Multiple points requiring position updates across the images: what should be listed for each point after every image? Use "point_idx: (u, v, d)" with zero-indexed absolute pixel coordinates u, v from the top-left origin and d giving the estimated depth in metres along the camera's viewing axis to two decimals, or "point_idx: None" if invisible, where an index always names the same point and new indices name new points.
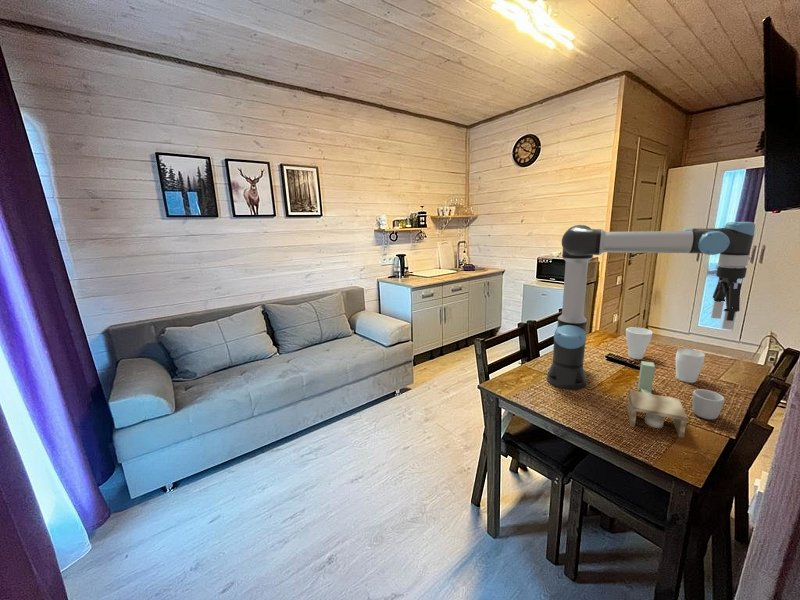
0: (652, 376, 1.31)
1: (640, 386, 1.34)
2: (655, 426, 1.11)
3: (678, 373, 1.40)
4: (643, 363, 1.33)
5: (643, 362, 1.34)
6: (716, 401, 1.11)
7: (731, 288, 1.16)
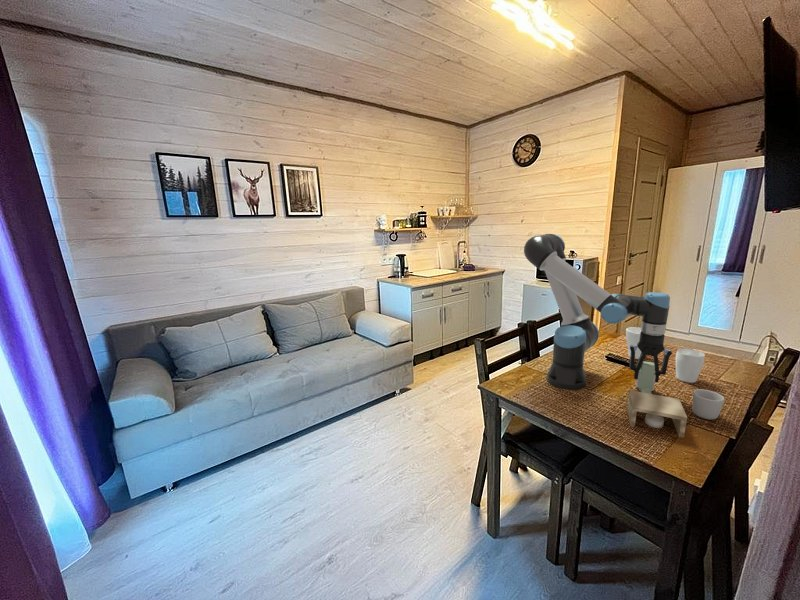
0: (652, 376, 1.31)
1: (640, 386, 1.34)
2: (655, 426, 1.11)
3: (678, 373, 1.40)
4: (643, 363, 1.33)
5: (643, 362, 1.34)
6: (716, 401, 1.11)
7: None
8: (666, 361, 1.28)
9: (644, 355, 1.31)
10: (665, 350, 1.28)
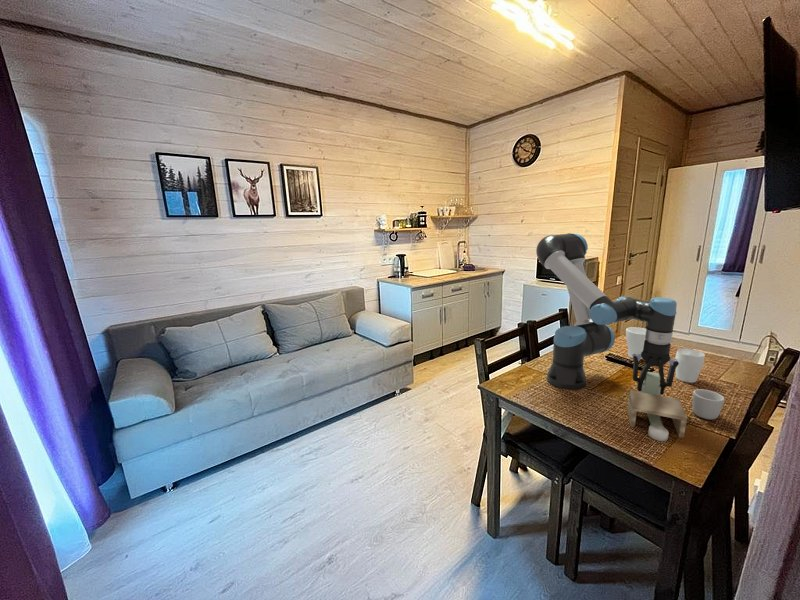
0: (657, 388, 1.21)
1: None
2: (659, 439, 1.05)
3: (678, 373, 1.40)
4: (647, 374, 1.23)
5: (647, 373, 1.24)
6: (716, 401, 1.11)
7: None
8: (672, 372, 1.18)
9: (648, 365, 1.21)
10: (671, 360, 1.18)
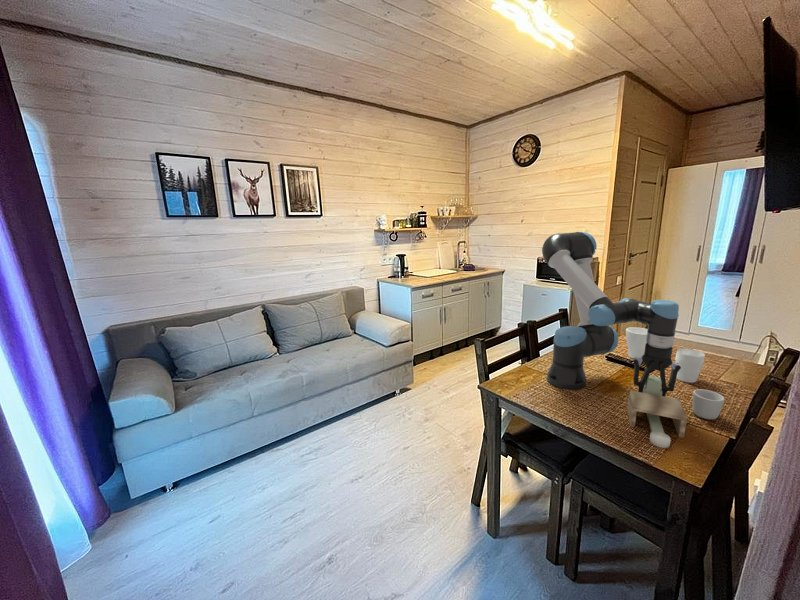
0: (658, 393, 1.18)
1: None
2: (661, 446, 1.02)
3: (678, 373, 1.40)
4: (648, 378, 1.20)
5: (648, 377, 1.21)
6: (716, 401, 1.11)
7: None
8: (674, 376, 1.16)
9: (649, 369, 1.18)
10: (673, 364, 1.15)
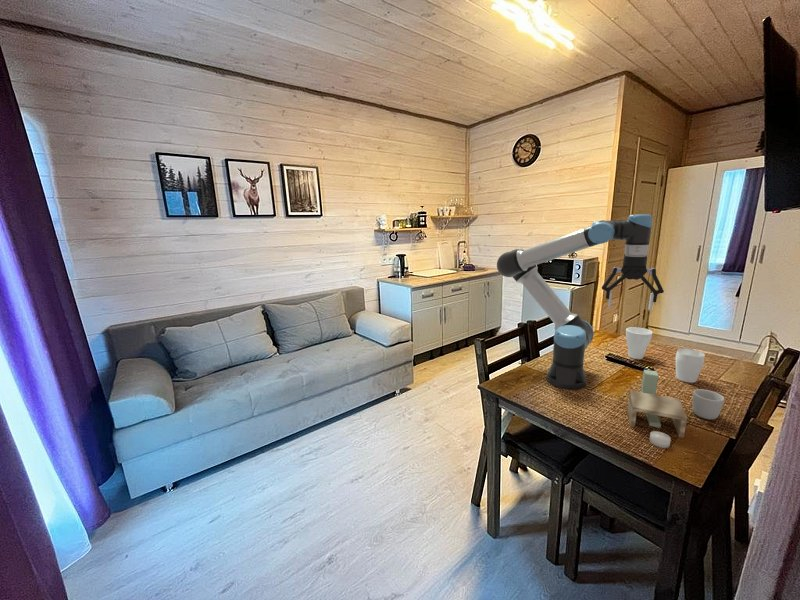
0: (655, 386, 1.24)
1: None
2: (663, 446, 1.02)
3: (678, 373, 1.40)
4: (646, 372, 1.26)
5: (646, 371, 1.27)
6: (716, 401, 1.11)
7: (612, 271, 1.36)
8: (656, 279, 1.27)
9: (624, 277, 1.32)
10: (649, 270, 1.29)
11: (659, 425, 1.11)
